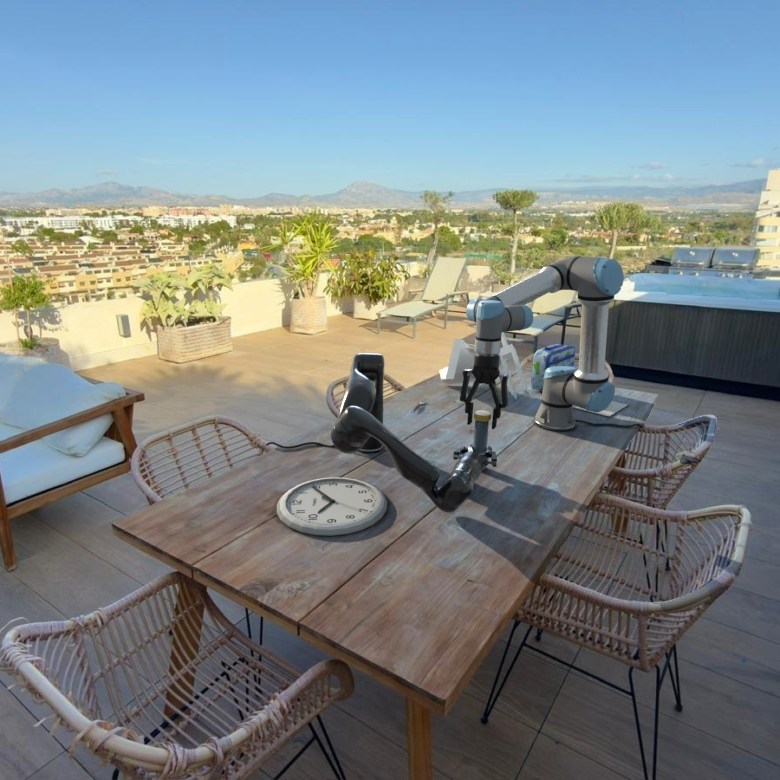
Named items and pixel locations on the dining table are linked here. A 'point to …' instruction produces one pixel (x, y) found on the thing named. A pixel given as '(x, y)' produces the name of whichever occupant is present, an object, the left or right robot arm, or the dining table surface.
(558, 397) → the right robot arm
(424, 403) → the fork
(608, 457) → the dining table surface
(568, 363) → the lunch box
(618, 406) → the invitation card
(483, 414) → the lid
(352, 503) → the wall clock
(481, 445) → the clear plastic cylinder
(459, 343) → the white plastic object
